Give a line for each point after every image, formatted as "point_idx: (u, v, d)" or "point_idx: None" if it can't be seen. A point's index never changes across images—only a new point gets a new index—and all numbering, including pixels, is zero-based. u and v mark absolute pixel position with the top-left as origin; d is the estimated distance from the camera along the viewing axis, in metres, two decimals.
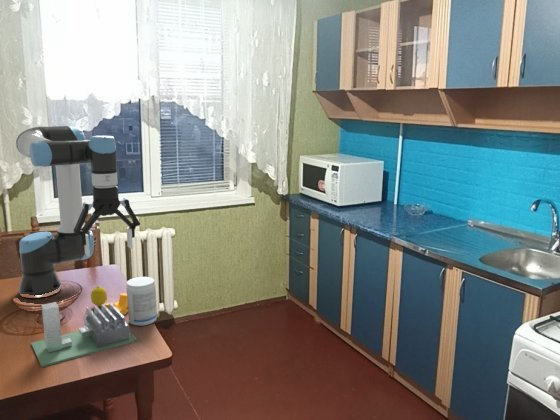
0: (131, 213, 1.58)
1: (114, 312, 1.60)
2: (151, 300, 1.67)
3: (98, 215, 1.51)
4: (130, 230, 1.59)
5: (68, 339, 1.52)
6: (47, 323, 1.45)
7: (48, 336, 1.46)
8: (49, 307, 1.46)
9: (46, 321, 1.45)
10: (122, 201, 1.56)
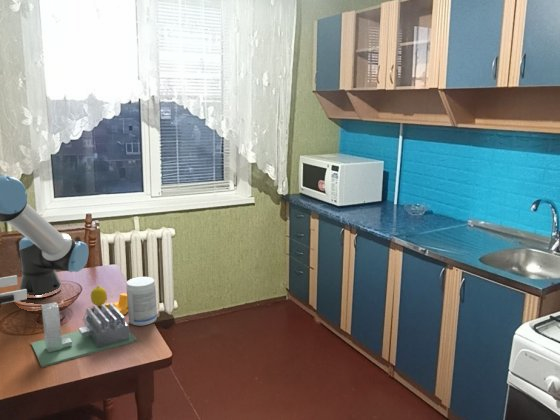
0: None
1: (114, 312, 1.60)
2: (151, 300, 1.67)
3: None
4: None
5: (68, 339, 1.52)
6: (47, 323, 1.45)
7: (48, 336, 1.46)
8: (49, 307, 1.46)
9: (46, 321, 1.45)
10: None
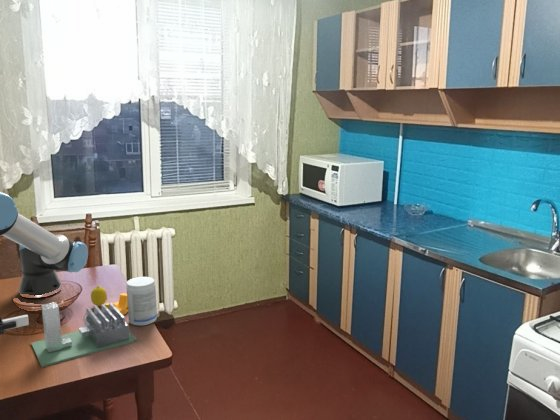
0: None
1: (114, 312, 1.60)
2: (151, 300, 1.67)
3: None
4: None
5: (68, 339, 1.52)
6: (47, 323, 1.45)
7: (48, 336, 1.46)
8: (49, 307, 1.46)
9: (46, 321, 1.45)
10: None
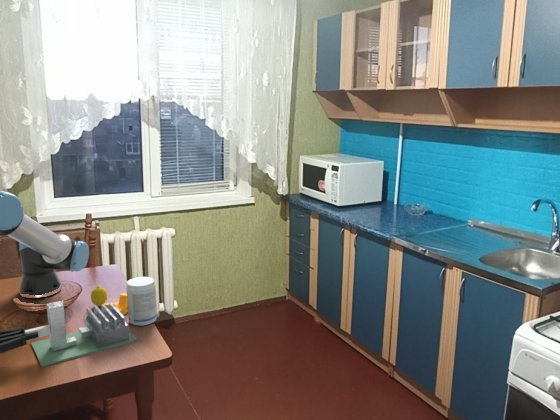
0: None
1: (114, 312, 1.60)
2: (151, 300, 1.67)
3: None
4: None
5: (73, 338, 1.53)
6: (52, 322, 1.46)
7: (53, 335, 1.47)
8: (54, 306, 1.46)
9: (51, 320, 1.46)
10: None
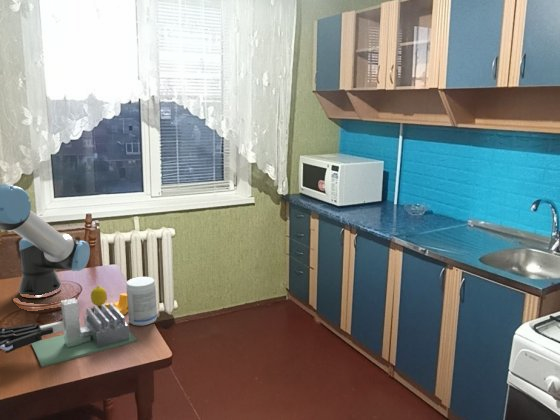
0: None
1: (114, 312, 1.60)
2: (151, 300, 1.67)
3: None
4: None
5: None
6: (66, 319, 1.49)
7: (68, 331, 1.49)
8: (69, 303, 1.49)
9: (66, 316, 1.48)
10: None
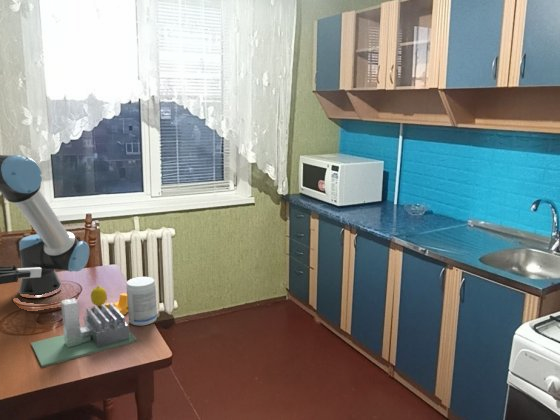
0: None
1: (114, 312, 1.60)
2: (151, 300, 1.67)
3: None
4: None
5: None
6: (66, 319, 1.49)
7: (68, 331, 1.49)
8: (69, 303, 1.49)
9: (66, 316, 1.48)
10: None
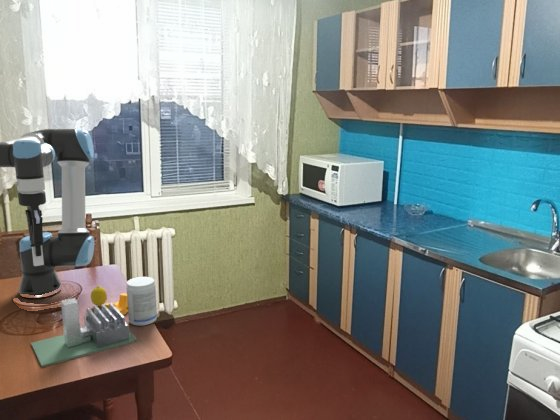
0: (33, 231, 1.47)
1: (114, 312, 1.60)
2: (151, 300, 1.67)
3: (27, 221, 1.51)
4: (32, 247, 1.52)
5: None
6: (66, 319, 1.49)
7: (68, 331, 1.49)
8: (69, 303, 1.49)
9: (66, 316, 1.48)
10: (35, 216, 1.46)
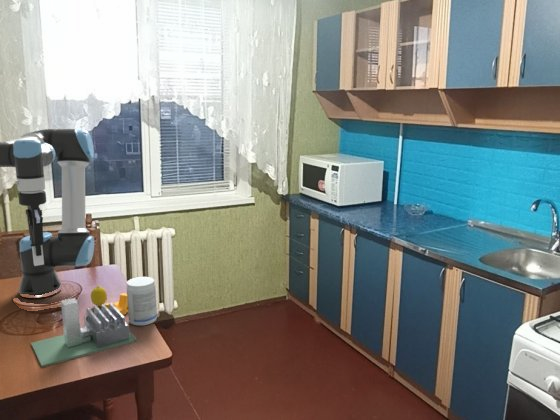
0: (33, 230, 1.47)
1: (114, 312, 1.60)
2: (151, 300, 1.67)
3: (27, 219, 1.51)
4: (32, 246, 1.52)
5: None
6: (66, 319, 1.49)
7: (68, 331, 1.49)
8: (69, 303, 1.49)
9: (66, 316, 1.48)
10: (35, 215, 1.46)
